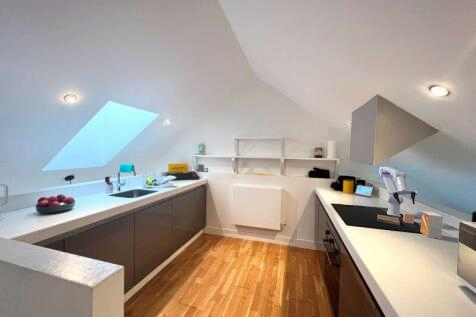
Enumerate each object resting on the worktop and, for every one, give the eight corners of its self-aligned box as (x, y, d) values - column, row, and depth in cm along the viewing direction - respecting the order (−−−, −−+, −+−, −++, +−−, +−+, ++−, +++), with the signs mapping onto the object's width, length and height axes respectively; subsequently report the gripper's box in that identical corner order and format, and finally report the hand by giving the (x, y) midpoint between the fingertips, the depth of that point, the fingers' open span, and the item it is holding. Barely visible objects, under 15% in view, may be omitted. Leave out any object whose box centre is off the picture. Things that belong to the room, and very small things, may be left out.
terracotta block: (403, 220, 146) (403, 212, 146) (412, 221, 143) (412, 213, 143) (404, 222, 142) (404, 213, 142) (413, 223, 139) (414, 215, 139)
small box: (419, 232, 124) (421, 210, 124) (432, 233, 122) (434, 212, 122) (427, 237, 116) (429, 214, 116) (441, 239, 115) (443, 216, 114)
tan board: (377, 217, 151) (377, 214, 151) (397, 220, 145) (397, 217, 145) (377, 221, 141) (378, 218, 141) (399, 225, 135) (400, 222, 135)
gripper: (389, 184, 149) (393, 201, 141) (415, 182, 141) (421, 200, 134) (389, 188, 153) (393, 205, 145) (414, 188, 146) (419, 205, 138)
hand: (406, 203), depth 140 cm, fingers open, 7 cm apart
